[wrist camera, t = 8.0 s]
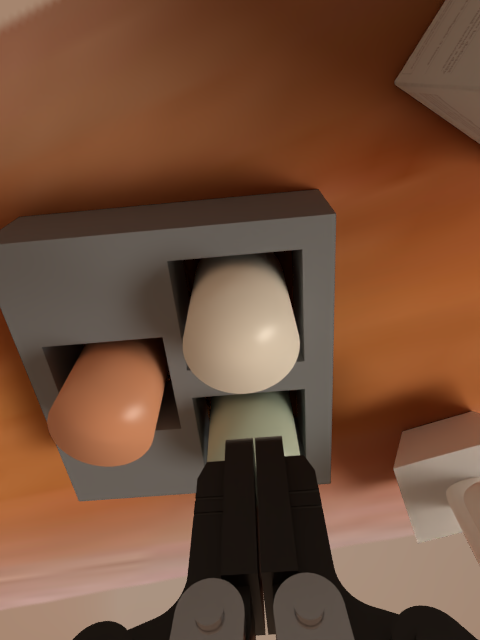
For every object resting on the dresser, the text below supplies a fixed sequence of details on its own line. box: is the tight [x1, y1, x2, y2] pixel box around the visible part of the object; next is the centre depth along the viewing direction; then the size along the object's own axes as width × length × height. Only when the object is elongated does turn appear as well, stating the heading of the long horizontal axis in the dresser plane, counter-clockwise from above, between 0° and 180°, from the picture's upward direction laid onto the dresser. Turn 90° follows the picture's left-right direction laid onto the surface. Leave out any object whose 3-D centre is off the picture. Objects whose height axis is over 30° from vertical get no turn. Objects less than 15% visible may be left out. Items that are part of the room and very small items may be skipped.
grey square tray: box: [0, 189, 336, 501], centre depth 22 cm, size 14×15×4 cm
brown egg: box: [47, 337, 169, 467], centre depth 21 cm, size 4×4×6 cm
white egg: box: [183, 252, 300, 394], centre depth 19 cm, size 4×4×6 cm
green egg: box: [207, 390, 300, 463], centre depth 22 cm, size 4×4×6 cm
